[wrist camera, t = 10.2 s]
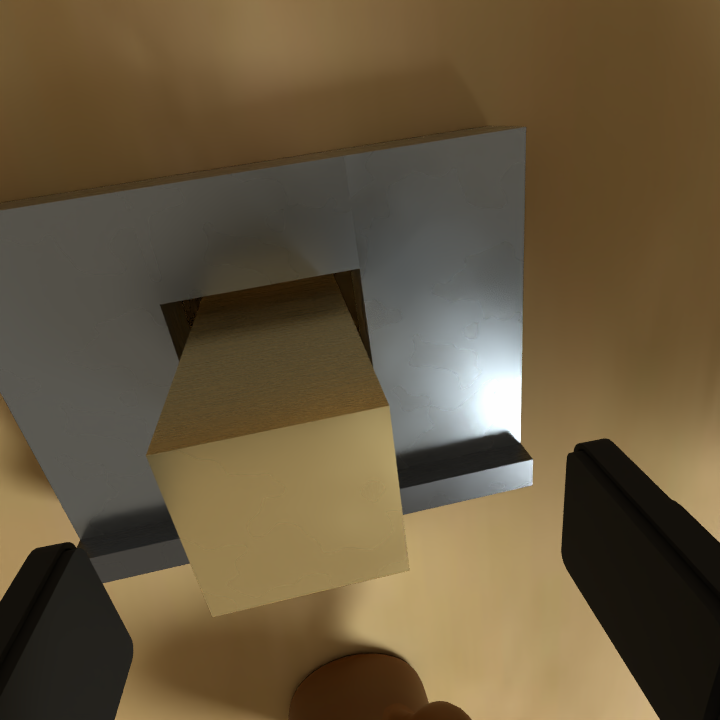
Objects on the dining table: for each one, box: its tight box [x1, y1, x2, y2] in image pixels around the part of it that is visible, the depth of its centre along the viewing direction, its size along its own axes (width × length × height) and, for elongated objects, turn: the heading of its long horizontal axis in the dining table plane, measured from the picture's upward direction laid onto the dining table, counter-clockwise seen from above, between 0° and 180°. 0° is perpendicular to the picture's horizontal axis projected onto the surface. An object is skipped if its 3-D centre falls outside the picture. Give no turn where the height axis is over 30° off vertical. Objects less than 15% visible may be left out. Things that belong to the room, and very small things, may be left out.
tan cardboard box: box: [146, 273, 410, 617], centre depth 14 cm, size 4×4×9 cm
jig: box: [0, 126, 533, 583], centre depth 16 cm, size 16×12×4 cm
